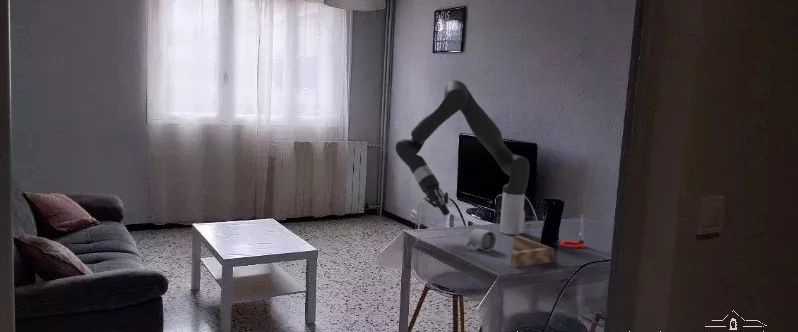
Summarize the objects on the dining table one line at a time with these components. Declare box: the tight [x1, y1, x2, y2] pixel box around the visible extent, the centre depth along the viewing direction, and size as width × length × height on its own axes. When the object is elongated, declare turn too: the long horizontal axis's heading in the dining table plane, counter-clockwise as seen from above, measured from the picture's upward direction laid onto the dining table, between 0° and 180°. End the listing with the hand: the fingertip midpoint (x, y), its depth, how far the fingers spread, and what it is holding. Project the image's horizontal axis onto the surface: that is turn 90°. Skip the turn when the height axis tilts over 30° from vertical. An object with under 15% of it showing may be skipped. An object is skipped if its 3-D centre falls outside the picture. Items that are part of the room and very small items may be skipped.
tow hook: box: [559, 214, 586, 249], centre depth 242 cm, size 8×13×9 cm
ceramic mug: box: [465, 228, 497, 252], centre depth 229 cm, size 11×8×8 cm
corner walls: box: [510, 235, 555, 268], centre depth 221 cm, size 18×19×5 cm
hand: (447, 214), depth 239 cm, fingers closed
